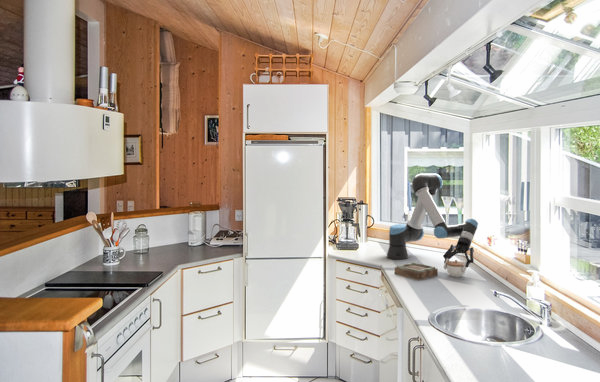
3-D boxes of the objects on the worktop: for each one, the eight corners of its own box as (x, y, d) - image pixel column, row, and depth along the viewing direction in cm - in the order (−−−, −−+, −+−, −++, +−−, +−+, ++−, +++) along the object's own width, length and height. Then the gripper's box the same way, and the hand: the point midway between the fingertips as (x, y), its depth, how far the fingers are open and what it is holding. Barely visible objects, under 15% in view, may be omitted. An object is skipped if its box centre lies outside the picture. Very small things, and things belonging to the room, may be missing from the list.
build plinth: (413, 269, 273) (413, 261, 273) (437, 275, 259) (437, 267, 259) (394, 273, 263) (394, 265, 263) (418, 280, 248) (418, 271, 248)
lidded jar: (466, 278, 252) (467, 262, 251) (447, 277, 254) (447, 261, 253) (463, 273, 262) (463, 258, 262) (445, 273, 264) (445, 258, 264)
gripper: (445, 234, 272) (433, 263, 262) (482, 238, 256) (471, 269, 245) (449, 241, 276) (437, 270, 266) (485, 246, 260) (475, 276, 250)
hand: (453, 269), depth 256 cm, fingers closed on lidded jar, 11 cm apart
